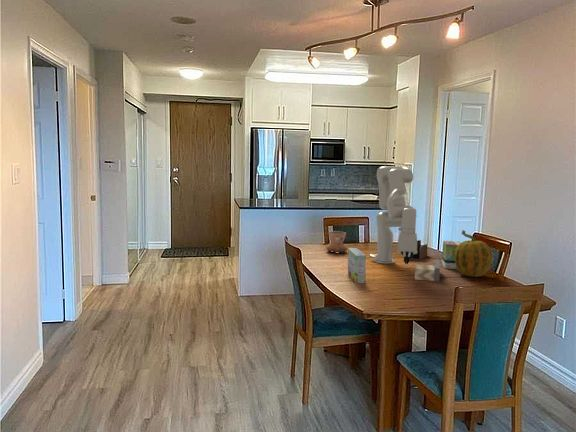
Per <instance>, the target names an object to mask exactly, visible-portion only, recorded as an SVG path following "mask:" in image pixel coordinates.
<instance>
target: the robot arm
mask: <svg viewBox="0 0 576 432" xmlns="http://www.w3.org/2000/svg"><path fill="white" fill-rule="evenodd" d="M413 180H414V173H413V171H412V170H411V169H410V168H408V167H406V166H401V165H400V166H396V165H394V166H393V165H390V166H389V165H388V166H387V165H384V166H380V167H378V168H377V171H376V181H377V183H378V189H379V190H378V191H379V192H378V198H379V199H378V204H379V209H381V210H387V211H381V212H379V213H378V214H376V225H377V226H376V227H377V228H376V229H377V242H376V243H377V244H376V245H377V246H376V247H377V249H376V254H369V258H370V259H373V260H374V261H373V262H375V263H377V264H383V265H384V264H385V265H386V264H387V265H388V264H394V263H396V262H395V259H393V251H394V250H393V247H394V245H393V243H394V234H393V231H392V230H391V229H390V228H398V229H397V230H398V231H400V232H399V234H398V239H397V250H396V252H397V253H398V254H401V255H402V256H403V263H404V265H409V263H410V262H411V260H410V256H411V255H413V254H417V241H418V235H417V233H416V228H417V227H416V226H417V223H416V222H417V209H416V208H414V207H413V206H411V205H406V199H405V196H404V195H406V193H407V192H408V191H407V187H406V184H411V183H412V182H413ZM406 252H409V253H408V255H407V256H406Z"/></svg>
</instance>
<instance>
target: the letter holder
mask: <svg viewBox="0 0 576 432" xmlns="http://www.w3.org/2000/svg"><path fill="white" fill-rule="evenodd" d="M408 253H409V252H406V256H407V255H408ZM427 256H428V244H423V245H422V240H420V239H419V240H418V239H417V254H413V255H411V256H410V261H417V262H418V261H419V262H420V261H422V260H423V259H425V258H426V257H427Z"/></svg>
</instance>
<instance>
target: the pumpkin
mask: <svg viewBox="0 0 576 432" xmlns="http://www.w3.org/2000/svg"><path fill="white" fill-rule="evenodd" d="M461 235H463V236H464V237H466V238H468V239H471V240H464V241H462V242H460V244H459V245H458V246H457V248H456V251H455V264H456V268H457V269H456V270H457V271H458V273H460V274H461V275H463V276H466V277H471V278H472V277H473V278H476V277H477V278H478V277H483V276H484V275H485V274H486V273H488V272H489V270H490V268H491V265H492V262H493V254H492V253H493V252H492V250H491V247H490V246H489V245H488V244H487V243H486V242H484V241H483V240H482V241H481V240H476V238H475V237H474V236H473V235H471V234H469V233H466V230H464V229H462V230H461Z"/></svg>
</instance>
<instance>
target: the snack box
mask: <svg viewBox="0 0 576 432" xmlns="http://www.w3.org/2000/svg"><path fill="white" fill-rule="evenodd" d="M366 258H367V256H366V254H365V253H363V252H362V251H361V250H360V249H358V248H357V247H347V274H349V275H348V276H349V277H350V278H351V279H352V280H353V282H354V283H355V284H356V285H359V284H360V285H361V284H364V285H365V284H366V279H367V278H366V274H367V273H366V268H367V267H366V266H367V264H366V261H367V259H366Z"/></svg>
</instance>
